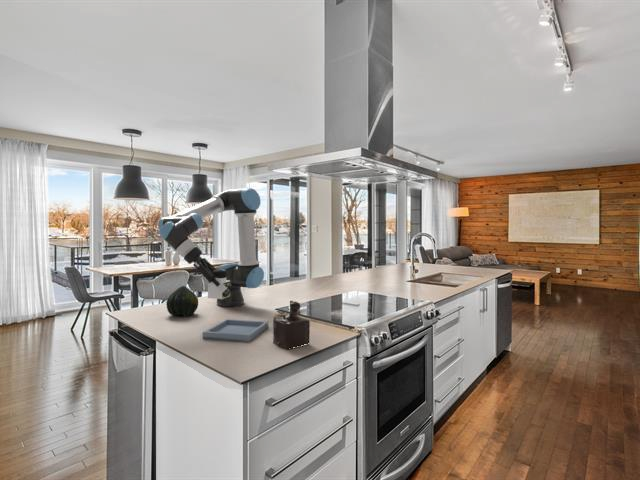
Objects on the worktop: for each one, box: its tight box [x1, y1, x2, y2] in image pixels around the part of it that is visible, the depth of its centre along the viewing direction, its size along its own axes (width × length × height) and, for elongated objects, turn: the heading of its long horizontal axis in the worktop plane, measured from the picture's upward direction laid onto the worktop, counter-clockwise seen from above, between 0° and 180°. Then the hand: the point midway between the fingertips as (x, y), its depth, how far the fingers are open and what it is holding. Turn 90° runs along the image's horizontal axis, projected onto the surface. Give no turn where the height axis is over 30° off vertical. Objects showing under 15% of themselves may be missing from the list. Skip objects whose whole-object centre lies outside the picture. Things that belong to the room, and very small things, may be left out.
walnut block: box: [272, 313, 288, 320], centre depth 162 cm, size 6×6×5 cm
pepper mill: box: [272, 300, 311, 350], centre depth 136 cm, size 16×11×18 cm
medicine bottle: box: [207, 269, 230, 300], centre depth 159 cm, size 7×7×12 cm
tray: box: [202, 318, 269, 343], centre depth 152 cm, size 20×20×3 cm
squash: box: [165, 285, 199, 318], centre depth 183 cm, size 14×15×15 cm
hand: (226, 288), depth 160 cm, fingers closed on medicine bottle, 9 cm apart
